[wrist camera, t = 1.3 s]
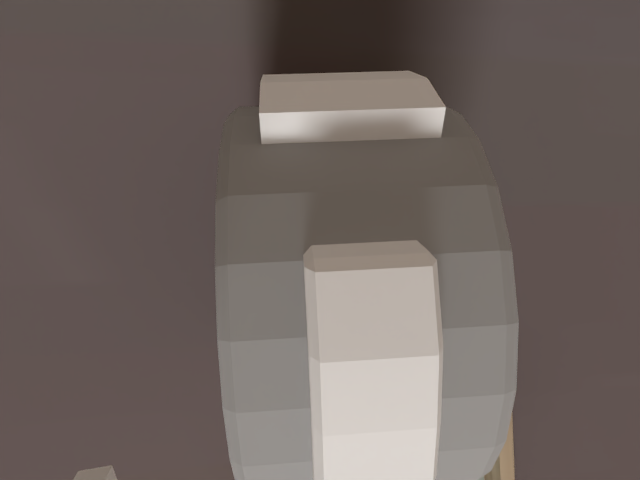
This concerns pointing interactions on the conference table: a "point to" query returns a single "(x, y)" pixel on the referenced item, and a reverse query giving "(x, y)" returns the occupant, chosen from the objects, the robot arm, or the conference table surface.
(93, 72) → the conference table surface
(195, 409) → the conference table surface
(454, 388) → the alarm clock
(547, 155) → the conference table surface
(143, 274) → the conference table surface
